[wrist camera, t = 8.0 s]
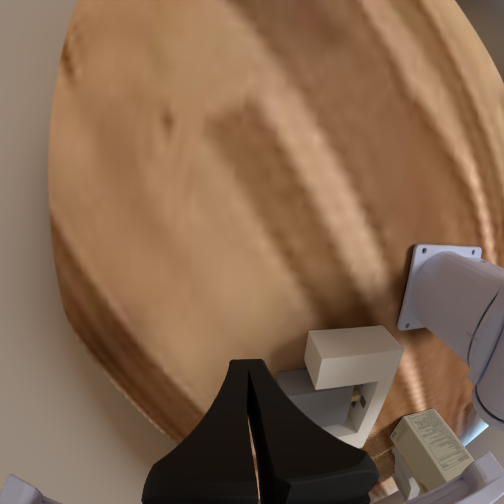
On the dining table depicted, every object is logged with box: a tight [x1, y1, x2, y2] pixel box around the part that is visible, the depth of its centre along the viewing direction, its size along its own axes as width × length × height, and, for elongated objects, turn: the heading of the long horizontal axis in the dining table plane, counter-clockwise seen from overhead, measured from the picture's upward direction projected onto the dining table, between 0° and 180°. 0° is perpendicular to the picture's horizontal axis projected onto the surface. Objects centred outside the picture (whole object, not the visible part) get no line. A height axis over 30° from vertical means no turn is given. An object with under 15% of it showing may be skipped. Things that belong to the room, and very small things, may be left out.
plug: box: [277, 369, 360, 428], centre depth 23 cm, size 7×5×4 cm
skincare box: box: [390, 408, 475, 494], centre depth 22 cm, size 6×4×12 cm
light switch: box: [392, 447, 420, 502], centre depth 27 cm, size 2×12×8 cm, turn 21°
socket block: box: [304, 325, 404, 448], centre depth 22 cm, size 7×13×4 cm, turn 178°
